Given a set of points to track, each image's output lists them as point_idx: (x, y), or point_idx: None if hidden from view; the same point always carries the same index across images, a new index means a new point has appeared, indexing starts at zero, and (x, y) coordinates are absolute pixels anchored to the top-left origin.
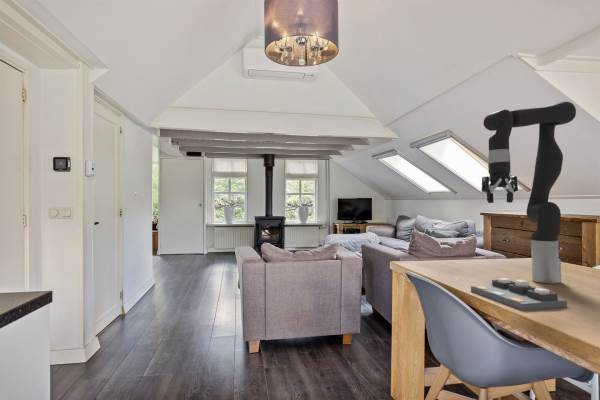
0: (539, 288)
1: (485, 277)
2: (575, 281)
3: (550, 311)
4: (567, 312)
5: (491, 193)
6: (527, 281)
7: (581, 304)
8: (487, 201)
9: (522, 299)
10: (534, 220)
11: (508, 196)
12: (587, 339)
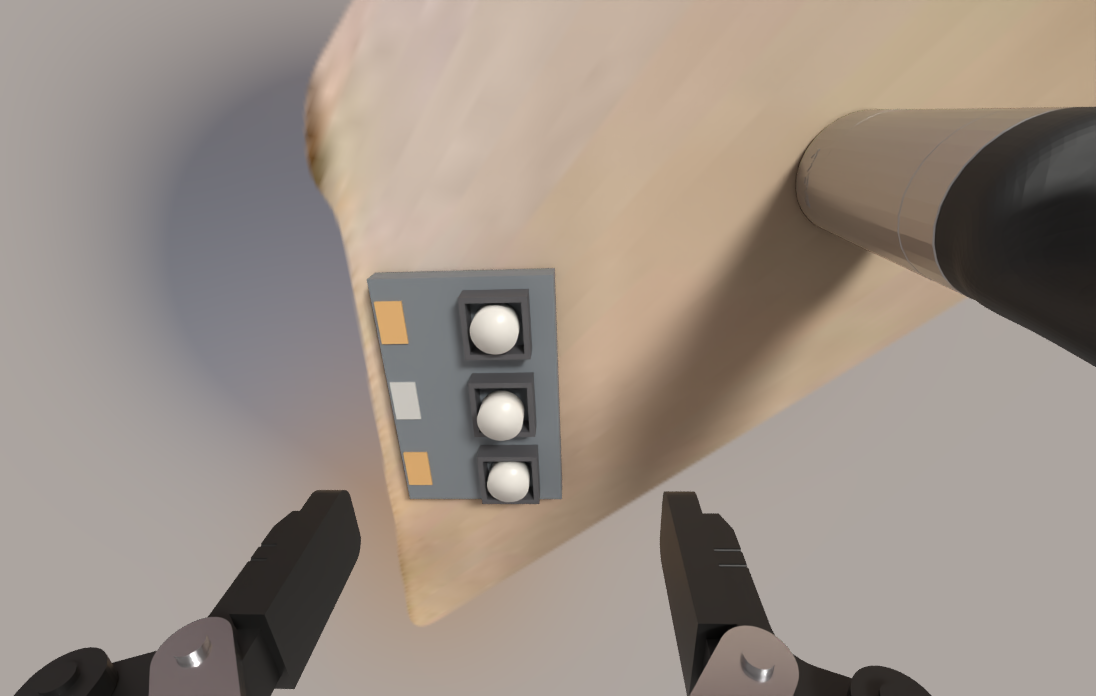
0: (513, 473)
1: None
2: None
3: None
4: (524, 513)
5: (266, 677)
6: (514, 432)
7: (631, 472)
8: (292, 512)
9: (439, 467)
10: None
11: (680, 597)
12: (422, 619)
